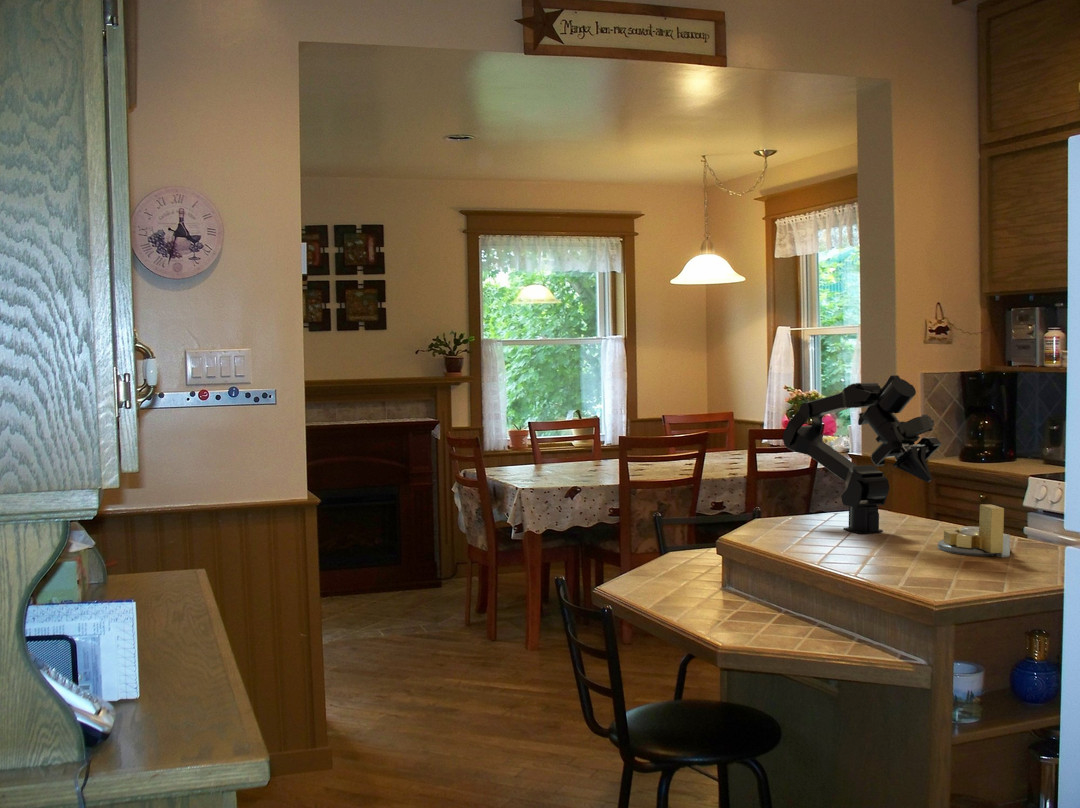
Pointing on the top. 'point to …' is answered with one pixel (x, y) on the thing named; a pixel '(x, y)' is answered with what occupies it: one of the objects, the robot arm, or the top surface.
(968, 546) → the beige block cluster
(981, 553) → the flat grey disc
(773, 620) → the top surface
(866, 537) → the top surface
